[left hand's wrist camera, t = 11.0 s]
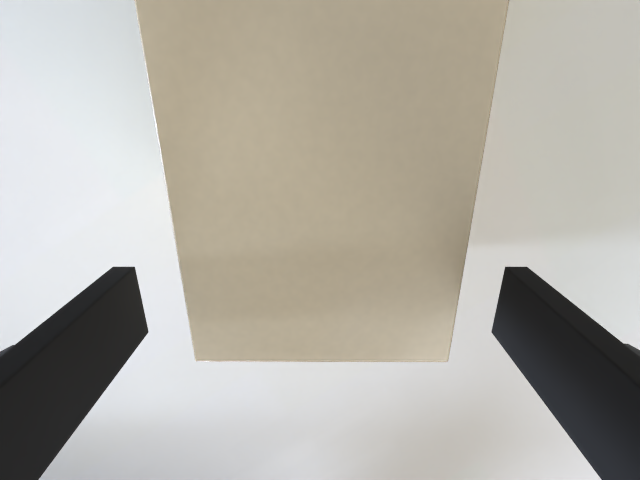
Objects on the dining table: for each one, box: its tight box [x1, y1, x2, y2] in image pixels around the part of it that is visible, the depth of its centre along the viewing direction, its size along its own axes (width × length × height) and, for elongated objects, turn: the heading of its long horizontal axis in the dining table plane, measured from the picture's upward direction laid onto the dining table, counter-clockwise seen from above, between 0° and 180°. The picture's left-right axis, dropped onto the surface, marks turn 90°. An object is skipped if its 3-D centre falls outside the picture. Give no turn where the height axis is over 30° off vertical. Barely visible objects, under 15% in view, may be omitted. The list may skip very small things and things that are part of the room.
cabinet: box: [134, 0, 509, 362], centre depth 15 cm, size 20×10×11 cm, turn 0°
